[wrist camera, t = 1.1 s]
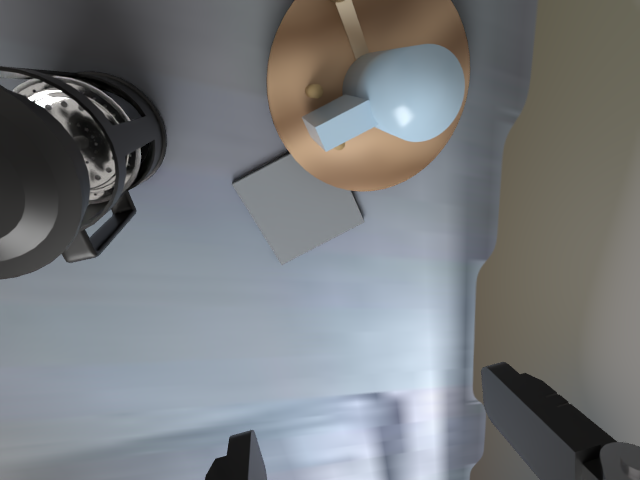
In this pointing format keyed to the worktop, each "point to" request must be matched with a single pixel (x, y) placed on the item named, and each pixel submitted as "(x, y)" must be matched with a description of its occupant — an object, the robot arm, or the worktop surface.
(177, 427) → the worktop surface
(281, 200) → the slate mat
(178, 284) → the worktop surface
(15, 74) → the french press
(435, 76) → the pale blue carafe
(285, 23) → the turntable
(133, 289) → the worktop surface
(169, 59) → the worktop surface
